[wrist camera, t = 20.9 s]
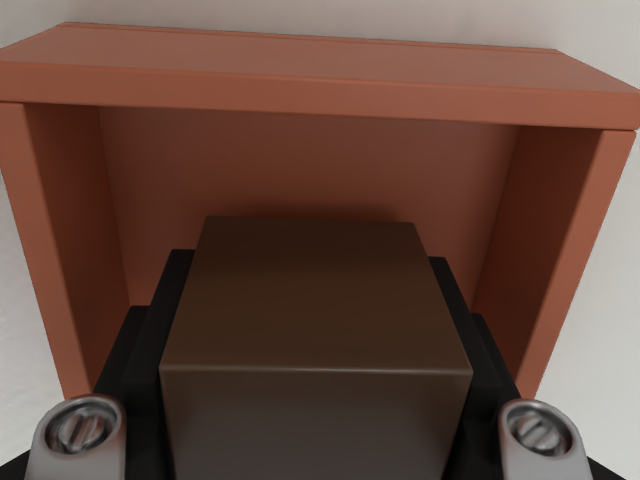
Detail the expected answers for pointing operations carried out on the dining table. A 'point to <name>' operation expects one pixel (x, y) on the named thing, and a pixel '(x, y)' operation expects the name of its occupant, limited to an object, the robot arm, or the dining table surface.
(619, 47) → the dining table surface
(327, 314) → the walnut block
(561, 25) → the dining table surface
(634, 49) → the dining table surface
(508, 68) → the terracotta bin
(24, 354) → the dining table surface
